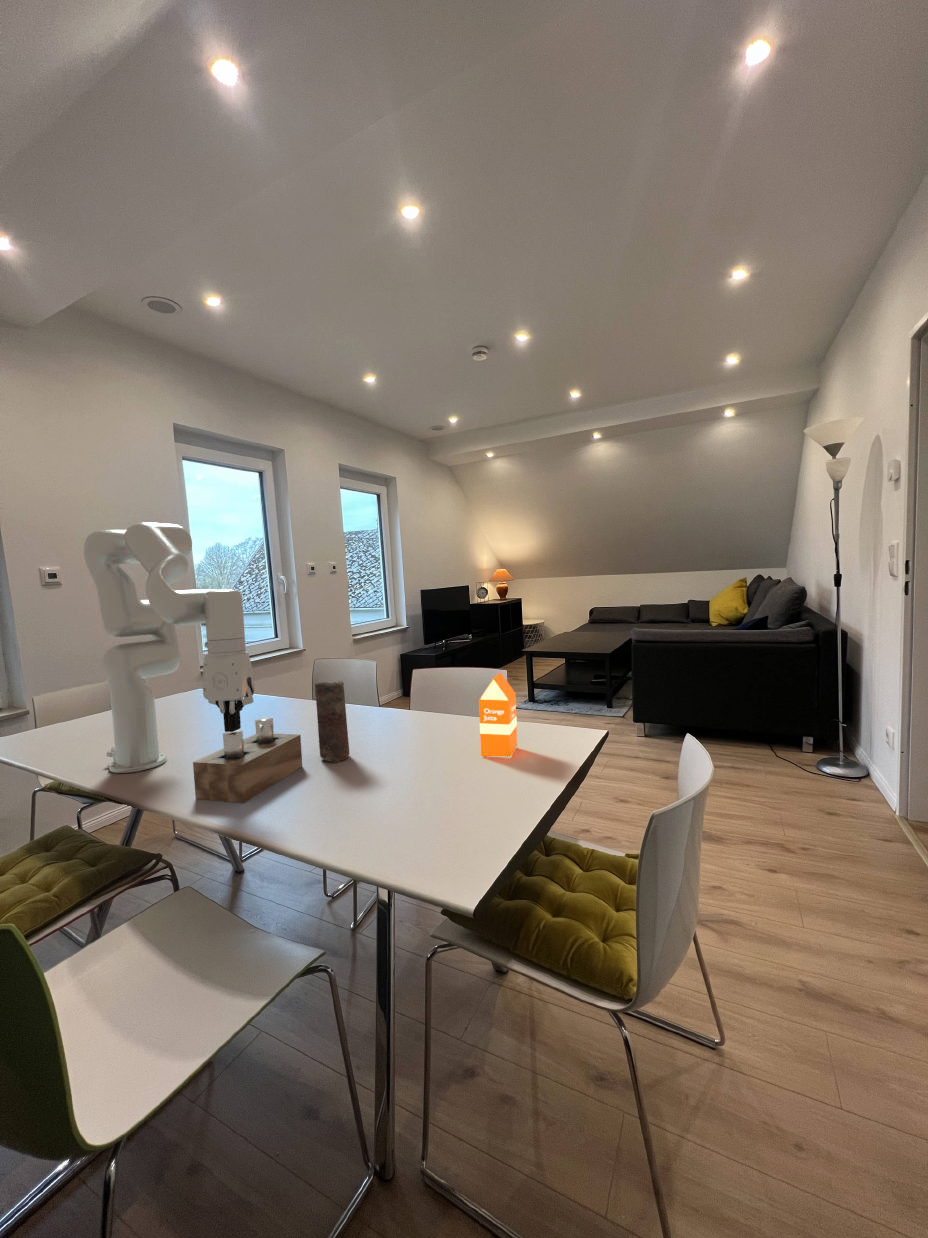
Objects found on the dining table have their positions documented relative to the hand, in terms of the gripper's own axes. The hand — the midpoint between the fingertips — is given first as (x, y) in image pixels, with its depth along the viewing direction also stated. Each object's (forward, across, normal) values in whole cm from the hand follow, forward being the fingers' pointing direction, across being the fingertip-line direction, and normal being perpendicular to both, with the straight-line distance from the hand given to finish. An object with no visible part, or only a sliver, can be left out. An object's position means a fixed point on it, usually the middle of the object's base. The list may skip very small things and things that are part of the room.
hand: (232, 730), depth 117 cm
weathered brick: (+14, +11, +24) cm, 29 cm away
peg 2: (+9, 0, +11) cm, 14 cm away
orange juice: (+14, +52, +34) cm, 64 cm away
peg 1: (+9, 0, 0) cm, 9 cm away
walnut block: (+14, 0, +6) cm, 15 cm away
